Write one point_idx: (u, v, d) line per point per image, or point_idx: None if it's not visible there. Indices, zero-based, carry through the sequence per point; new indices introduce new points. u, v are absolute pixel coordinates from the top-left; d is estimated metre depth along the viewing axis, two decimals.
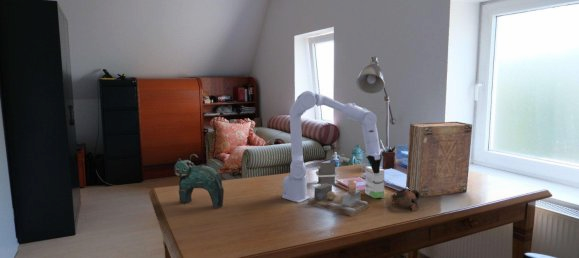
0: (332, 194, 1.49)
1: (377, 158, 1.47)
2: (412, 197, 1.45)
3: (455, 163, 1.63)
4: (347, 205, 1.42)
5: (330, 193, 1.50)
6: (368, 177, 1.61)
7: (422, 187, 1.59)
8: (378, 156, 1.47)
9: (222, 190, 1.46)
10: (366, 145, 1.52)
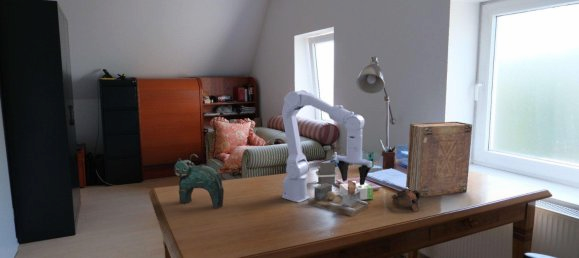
0: (332, 194, 1.49)
1: (370, 165, 1.38)
2: (413, 197, 1.44)
3: (455, 163, 1.63)
4: (347, 205, 1.42)
5: (330, 193, 1.50)
6: None
7: (422, 187, 1.59)
8: (371, 163, 1.38)
9: (222, 190, 1.46)
10: (353, 152, 1.40)
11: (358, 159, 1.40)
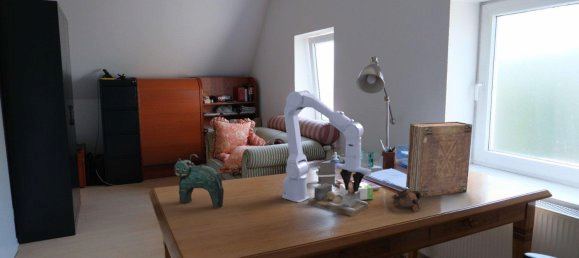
0: (332, 194, 1.49)
1: (369, 173, 1.39)
2: (413, 198, 1.44)
3: (455, 163, 1.63)
4: (347, 205, 1.42)
5: (330, 193, 1.50)
6: None
7: (422, 187, 1.59)
8: (370, 171, 1.39)
9: (222, 190, 1.46)
10: (352, 160, 1.40)
11: (357, 167, 1.40)
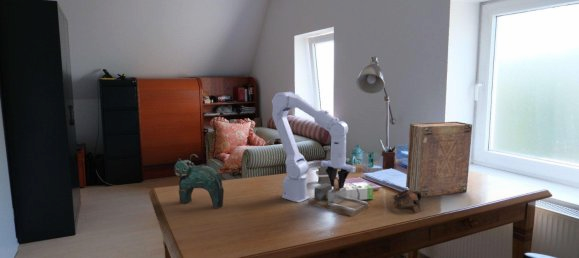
0: None
1: (354, 170, 1.43)
2: (414, 198, 1.43)
3: (455, 163, 1.63)
4: (332, 201, 1.46)
5: None
6: None
7: (422, 187, 1.59)
8: (354, 168, 1.43)
9: (222, 190, 1.46)
10: (337, 157, 1.44)
11: (342, 164, 1.44)
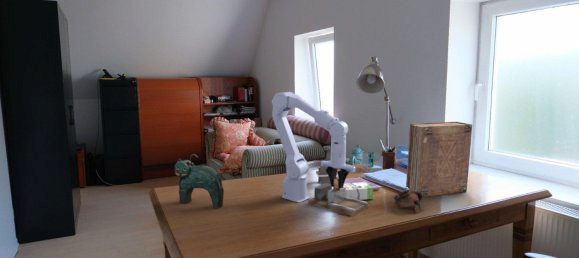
0: None
1: (354, 170, 1.43)
2: (415, 199, 1.43)
3: (455, 163, 1.63)
4: (332, 201, 1.46)
5: None
6: None
7: (422, 187, 1.59)
8: (354, 168, 1.43)
9: (222, 190, 1.46)
10: (337, 157, 1.44)
11: (342, 164, 1.44)
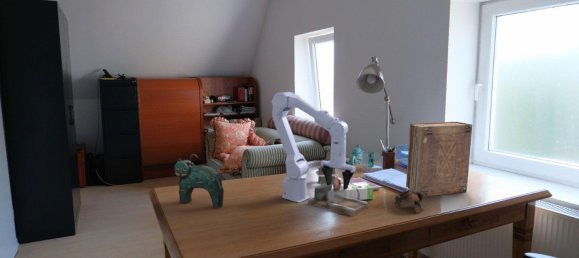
0: None
1: (354, 170, 1.43)
2: (416, 199, 1.42)
3: (455, 163, 1.63)
4: (332, 201, 1.46)
5: None
6: None
7: (422, 187, 1.59)
8: (354, 168, 1.43)
9: (222, 190, 1.46)
10: (337, 157, 1.44)
11: (342, 164, 1.44)
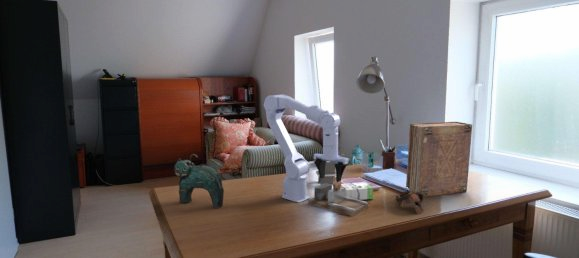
0: None
1: (346, 162, 1.42)
2: (416, 199, 1.42)
3: (455, 163, 1.63)
4: (332, 201, 1.46)
5: None
6: None
7: (422, 187, 1.59)
8: (347, 160, 1.42)
9: (222, 190, 1.46)
10: (329, 150, 1.43)
11: (334, 156, 1.44)
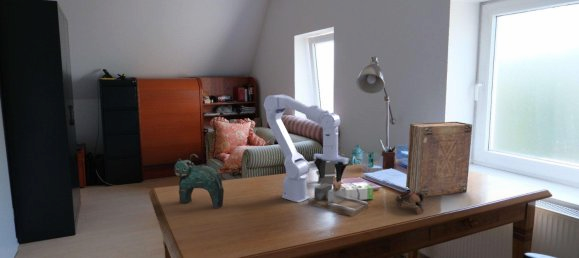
0: None
1: (346, 162, 1.42)
2: (417, 200, 1.42)
3: (455, 163, 1.63)
4: (332, 201, 1.46)
5: None
6: None
7: (422, 187, 1.59)
8: (347, 160, 1.42)
9: (222, 190, 1.46)
10: (329, 150, 1.43)
11: (334, 156, 1.44)
